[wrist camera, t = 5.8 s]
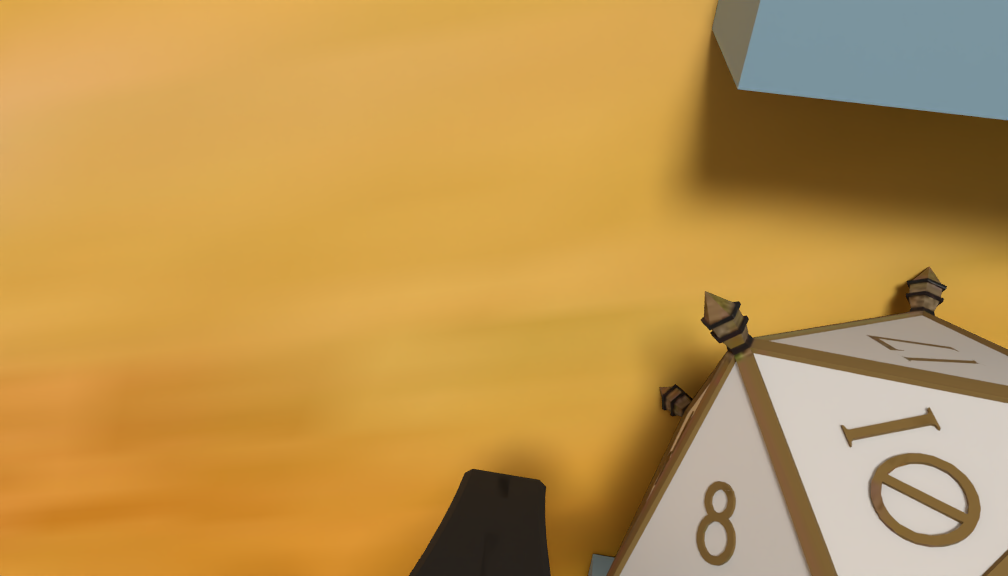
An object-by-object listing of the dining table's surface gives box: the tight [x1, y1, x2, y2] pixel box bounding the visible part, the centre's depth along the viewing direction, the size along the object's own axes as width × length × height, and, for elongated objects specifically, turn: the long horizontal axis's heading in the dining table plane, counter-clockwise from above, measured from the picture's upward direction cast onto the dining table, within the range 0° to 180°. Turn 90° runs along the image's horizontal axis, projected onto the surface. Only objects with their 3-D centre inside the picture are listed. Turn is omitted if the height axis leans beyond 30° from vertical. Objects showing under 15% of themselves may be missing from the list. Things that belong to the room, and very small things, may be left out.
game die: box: [606, 267, 1008, 576], centre depth 10 cm, size 9×8×10 cm
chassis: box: [588, 0, 1008, 576], centre depth 12 cm, size 15×12×3 cm
